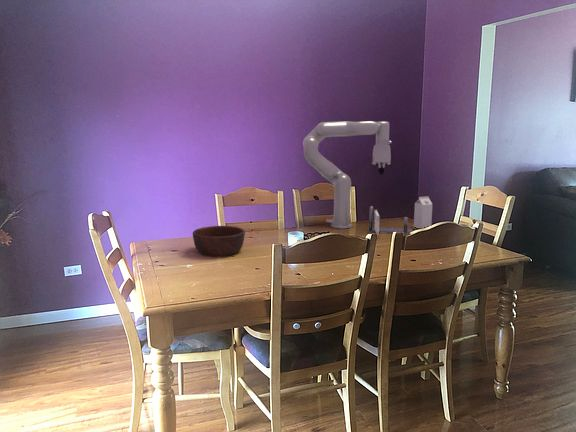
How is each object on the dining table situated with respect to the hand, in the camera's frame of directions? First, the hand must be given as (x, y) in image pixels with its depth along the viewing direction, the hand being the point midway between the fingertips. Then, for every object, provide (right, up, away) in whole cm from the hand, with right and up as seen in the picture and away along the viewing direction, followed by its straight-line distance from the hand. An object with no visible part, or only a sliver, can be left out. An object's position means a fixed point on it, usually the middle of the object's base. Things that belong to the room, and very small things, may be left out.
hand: (381, 174), depth 296 cm
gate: (-6, -33, -16) cm, 37 cm away
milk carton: (+24, -32, -1) cm, 40 cm away
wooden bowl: (-88, -42, -50) cm, 110 cm away
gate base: (+4, -33, -9) cm, 35 cm away
